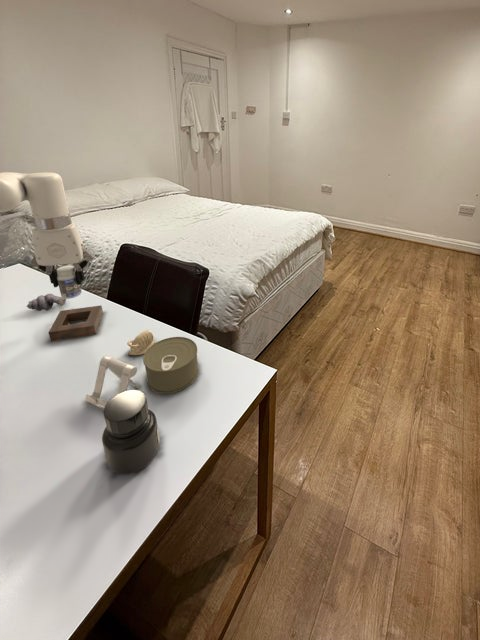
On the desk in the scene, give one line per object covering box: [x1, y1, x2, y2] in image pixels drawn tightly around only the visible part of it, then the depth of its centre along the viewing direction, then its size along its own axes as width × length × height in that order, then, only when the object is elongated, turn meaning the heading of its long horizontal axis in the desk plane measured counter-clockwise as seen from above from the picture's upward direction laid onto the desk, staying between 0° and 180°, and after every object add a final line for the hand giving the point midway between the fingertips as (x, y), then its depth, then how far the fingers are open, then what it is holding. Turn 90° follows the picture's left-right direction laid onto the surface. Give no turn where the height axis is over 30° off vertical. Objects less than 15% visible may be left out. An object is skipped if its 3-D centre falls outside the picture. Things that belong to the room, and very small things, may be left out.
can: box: [143, 336, 199, 395], centre depth 78 cm, size 12×12×7 cm
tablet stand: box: [85, 355, 139, 410], centre depth 71 cm, size 9×8×8 cm
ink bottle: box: [101, 389, 161, 475], centre depth 59 cm, size 10×9×12 cm
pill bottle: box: [57, 264, 82, 300], centre depth 89 cm, size 5×5×8 cm
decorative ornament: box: [126, 330, 155, 356], centre depth 86 cm, size 4×8×5 cm, turn 157°
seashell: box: [26, 293, 67, 312], centre depth 101 cm, size 5×5×10 cm
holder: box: [48, 305, 104, 342], centre depth 94 cm, size 11×11×3 cm
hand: (68, 283), depth 89 cm, fingers closed on pill bottle, 4 cm apart
